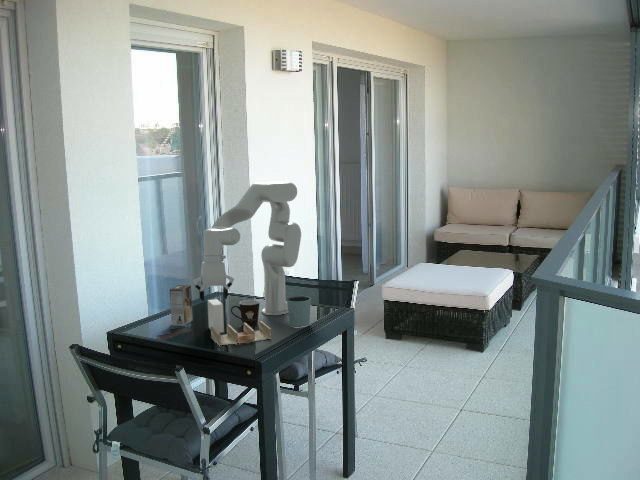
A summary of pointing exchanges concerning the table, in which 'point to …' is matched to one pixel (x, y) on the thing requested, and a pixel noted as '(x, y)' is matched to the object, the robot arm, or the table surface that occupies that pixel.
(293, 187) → the robot arm
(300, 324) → the grey plant pot
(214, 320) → the white rectangular block
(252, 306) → the coffee mug
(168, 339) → the table surface
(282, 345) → the table surface
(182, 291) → the coffee box
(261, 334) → the divider rack
